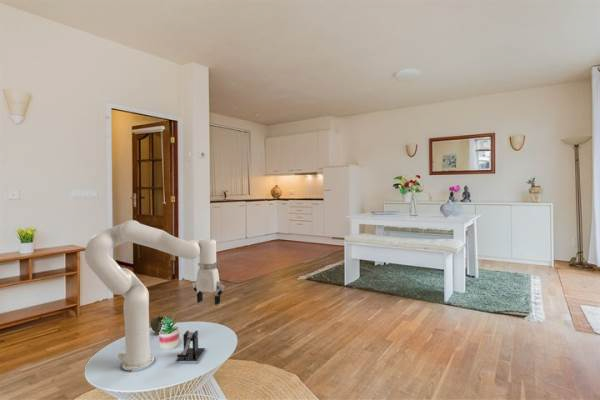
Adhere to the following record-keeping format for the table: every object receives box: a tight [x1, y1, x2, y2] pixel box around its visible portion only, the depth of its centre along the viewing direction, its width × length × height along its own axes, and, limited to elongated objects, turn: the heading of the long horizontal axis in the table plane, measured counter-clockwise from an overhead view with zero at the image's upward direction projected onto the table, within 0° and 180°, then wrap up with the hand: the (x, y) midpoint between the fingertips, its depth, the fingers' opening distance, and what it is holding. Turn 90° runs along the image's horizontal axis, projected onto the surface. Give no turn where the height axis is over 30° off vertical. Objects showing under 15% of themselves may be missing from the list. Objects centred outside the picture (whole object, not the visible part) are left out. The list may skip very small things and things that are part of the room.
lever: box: [176, 331, 195, 359], centre depth 147 cm, size 12×5×2 cm, turn 178°
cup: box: [149, 315, 166, 336], centre depth 176 cm, size 8×7×8 cm
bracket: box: [176, 330, 206, 362], centre depth 151 cm, size 11×9×11 cm
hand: (208, 302), depth 157 cm, fingers open, 9 cm apart
